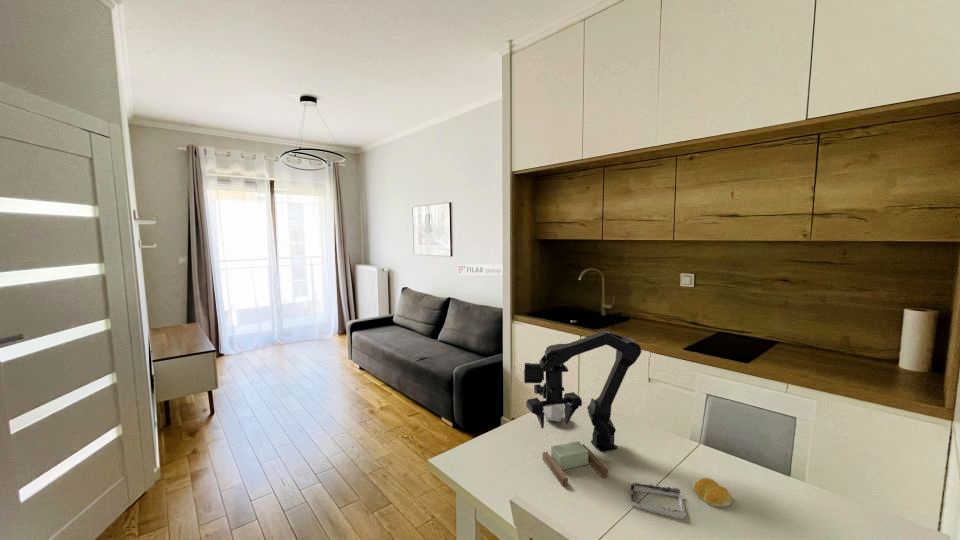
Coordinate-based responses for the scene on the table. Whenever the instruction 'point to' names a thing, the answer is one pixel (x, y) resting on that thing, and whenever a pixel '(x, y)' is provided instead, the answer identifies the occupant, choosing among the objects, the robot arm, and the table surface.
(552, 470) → the chute rails
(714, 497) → the bread roll
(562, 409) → the die
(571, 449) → the block
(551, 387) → the robot arm
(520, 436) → the table surface
